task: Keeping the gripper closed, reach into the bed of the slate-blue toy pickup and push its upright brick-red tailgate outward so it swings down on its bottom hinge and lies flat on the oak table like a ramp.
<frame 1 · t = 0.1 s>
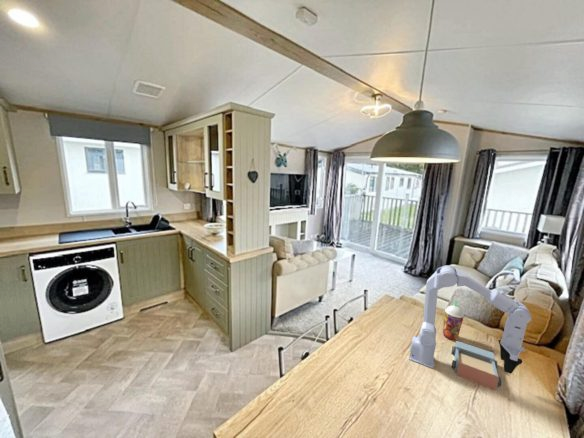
hand: (505, 365, 99), 10 cm above the table, fingers open, 7 cm apart
tailgate: (476, 375, 103), point 3 cm above the table, hinge at 0.0°
smoothie: (449, 337, 132), on the table
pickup: (474, 371, 109), on the table
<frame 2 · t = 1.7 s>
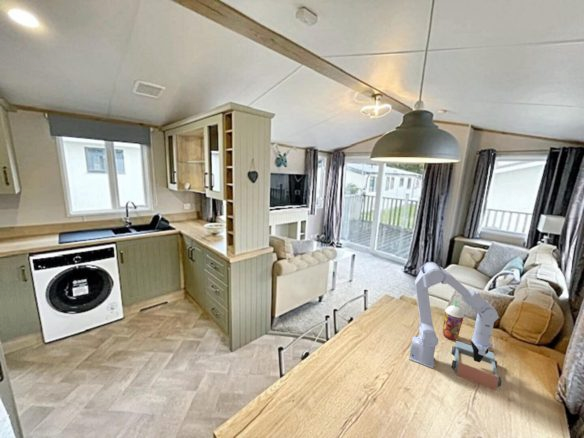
hand: (476, 360, 108), 5 cm above the table, fingers closed
nothing on the table moved.
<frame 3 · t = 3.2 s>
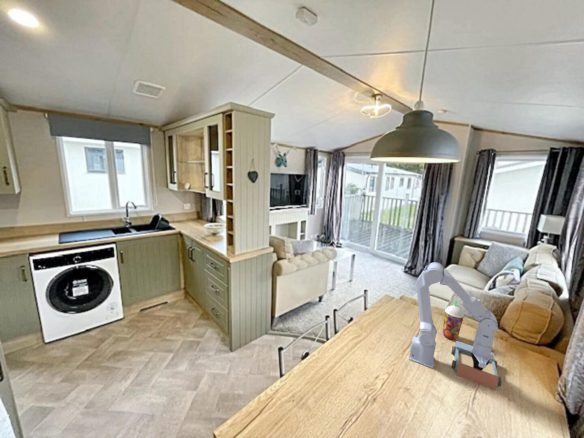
hand: (476, 372, 104), 3 cm above the table, fingers closed, pressing on tailgate
tailgate: (476, 375, 103), point 3 cm above the table, hinge at 0.6°, touching gripper
everything else where it was.
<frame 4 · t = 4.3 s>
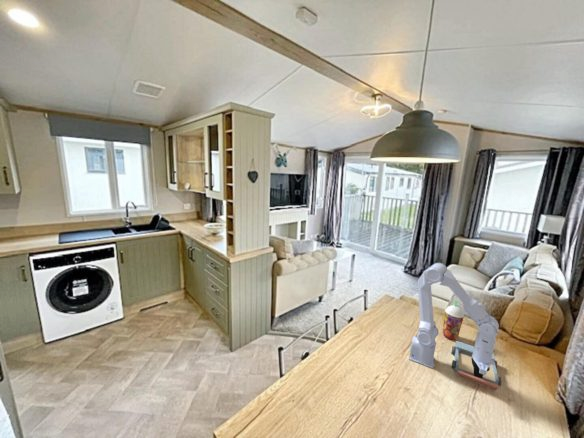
hand: (477, 378, 101), 3 cm above the table, fingers closed, pressing on tailgate
tailgate: (476, 380, 101), point 2 cm above the table, hinge at 43.4°, touching gripper
everything else where it was.
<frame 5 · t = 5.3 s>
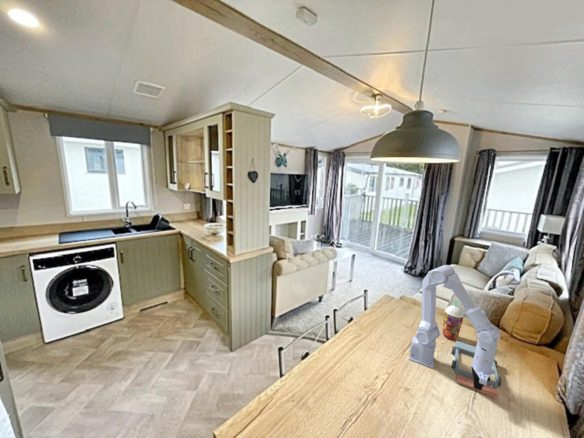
hand: (477, 388, 99), 1 cm above the table, fingers closed, pressing on tailgate
tailgate: (476, 385, 101), point 1 cm above the table, hinge at 83.2°, touching gripper
everything else where it was.
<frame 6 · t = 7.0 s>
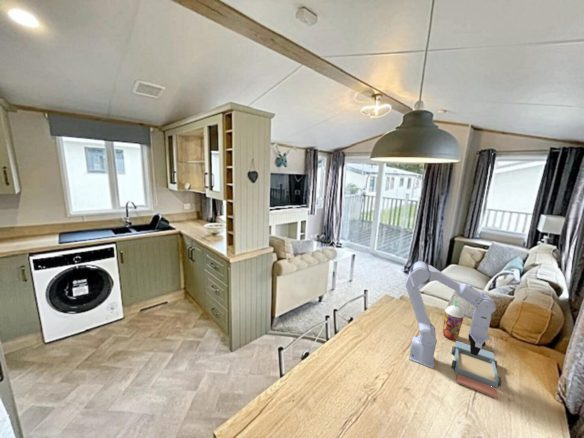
hand: (473, 353, 106), 10 cm above the table, fingers closed
tailgate: (476, 385, 101), point 1 cm above the table, hinge at 83.2°
everything else where it was.
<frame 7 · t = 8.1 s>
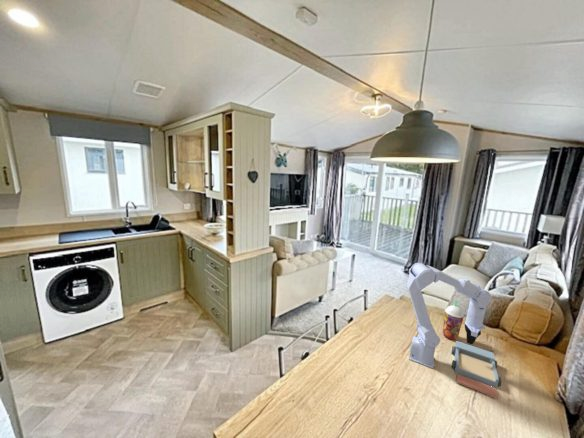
hand: (469, 343, 111), 10 cm above the table, fingers closed
nothing on the table moved.
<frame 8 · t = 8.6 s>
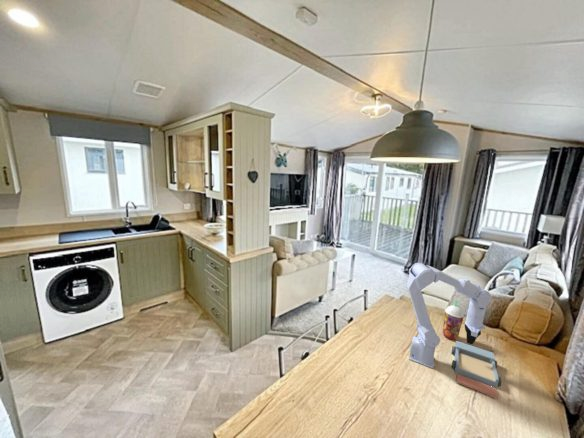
hand: (469, 343, 111), 10 cm above the table, fingers closed
nothing on the table moved.
at the end: tailgate at +83° (first picture: +0°) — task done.
